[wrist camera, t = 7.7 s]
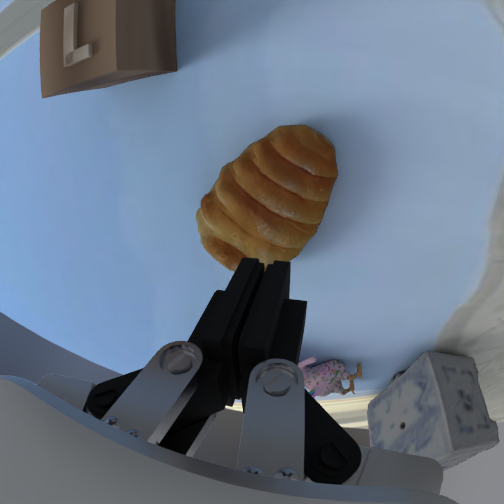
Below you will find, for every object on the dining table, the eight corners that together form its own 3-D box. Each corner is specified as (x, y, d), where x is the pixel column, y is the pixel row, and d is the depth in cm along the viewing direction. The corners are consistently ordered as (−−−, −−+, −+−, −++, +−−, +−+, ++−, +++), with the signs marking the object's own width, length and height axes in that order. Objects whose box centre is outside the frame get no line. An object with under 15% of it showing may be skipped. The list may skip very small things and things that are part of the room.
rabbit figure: (363, 337, 24) (191, 328, 25) (376, 394, 19) (173, 384, 19) (346, 378, 27) (198, 370, 28) (353, 428, 22) (186, 420, 23)
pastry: (271, 97, 15) (257, 98, 12) (366, 166, 16) (376, 186, 13) (197, 215, 20) (172, 241, 17) (277, 269, 21) (267, 304, 18)
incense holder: (422, 409, 25) (425, 490, 17) (364, 396, 26) (358, 489, 17) (482, 357, 20) (504, 450, 11) (424, 337, 20) (442, 451, 12)
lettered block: (175, -10, 12) (114, -36, 7) (177, 71, 15) (112, 70, 10) (103, 15, 13) (37, 10, 8) (105, 87, 17) (38, 99, 11)
